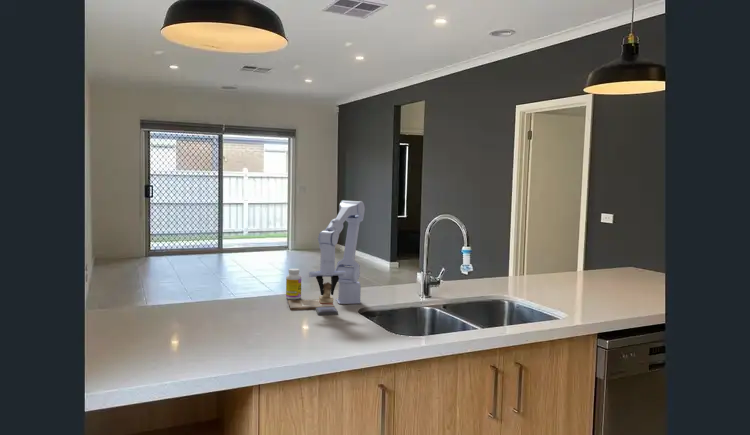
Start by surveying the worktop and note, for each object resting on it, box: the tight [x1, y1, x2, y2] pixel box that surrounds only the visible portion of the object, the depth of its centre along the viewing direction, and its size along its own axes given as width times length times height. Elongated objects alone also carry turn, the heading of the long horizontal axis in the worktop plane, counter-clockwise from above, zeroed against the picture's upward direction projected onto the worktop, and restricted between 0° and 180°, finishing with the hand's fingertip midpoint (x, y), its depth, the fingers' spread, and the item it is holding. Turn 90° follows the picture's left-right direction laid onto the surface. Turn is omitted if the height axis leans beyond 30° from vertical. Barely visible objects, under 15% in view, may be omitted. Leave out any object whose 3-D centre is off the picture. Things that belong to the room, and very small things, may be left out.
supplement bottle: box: [285, 268, 302, 300], centre depth 236 cm, size 7×7×13 cm
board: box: [287, 298, 336, 311], centre depth 224 cm, size 18×13×1 cm
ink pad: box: [314, 306, 339, 316], centre depth 214 cm, size 8×8×1 cm
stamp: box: [318, 281, 334, 305], centre depth 213 cm, size 5×5×8 cm
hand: (326, 294), depth 213 cm, fingers closed on stamp, 3 cm apart
